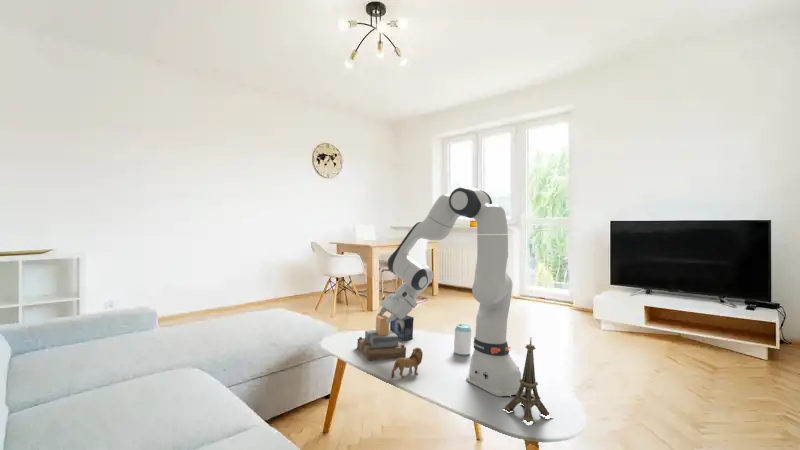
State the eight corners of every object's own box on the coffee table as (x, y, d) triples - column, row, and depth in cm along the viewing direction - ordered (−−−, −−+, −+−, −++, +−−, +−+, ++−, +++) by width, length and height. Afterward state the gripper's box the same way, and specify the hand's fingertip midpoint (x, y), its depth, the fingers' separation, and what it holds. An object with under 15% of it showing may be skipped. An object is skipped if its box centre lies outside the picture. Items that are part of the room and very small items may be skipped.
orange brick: (388, 334, 162) (389, 318, 162) (379, 335, 160) (380, 318, 160) (384, 331, 166) (385, 315, 166) (375, 332, 165) (376, 315, 165)
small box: (388, 335, 188) (389, 314, 188) (398, 333, 192) (399, 312, 192) (403, 341, 180) (404, 318, 180) (413, 338, 185) (414, 317, 185)
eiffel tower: (553, 418, 114) (557, 334, 113) (528, 426, 108) (533, 338, 108) (525, 403, 123) (529, 325, 123) (501, 409, 117) (505, 328, 117)
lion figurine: (415, 368, 147) (416, 344, 147) (425, 372, 144) (426, 348, 143) (386, 377, 137) (387, 352, 137) (396, 382, 133) (398, 356, 133)
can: (454, 355, 164) (455, 327, 164) (453, 349, 171) (455, 323, 171) (470, 356, 163) (472, 328, 163) (469, 351, 170) (471, 324, 170)
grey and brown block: (405, 357, 159) (406, 337, 159) (368, 360, 153) (369, 340, 153) (391, 344, 174) (392, 327, 174) (357, 347, 167) (358, 329, 167)
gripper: (391, 286, 175) (369, 309, 172) (409, 295, 157) (386, 321, 153) (399, 296, 177) (378, 318, 173) (418, 306, 158) (395, 331, 155)
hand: (382, 319), depth 163 cm, fingers open, 8 cm apart
